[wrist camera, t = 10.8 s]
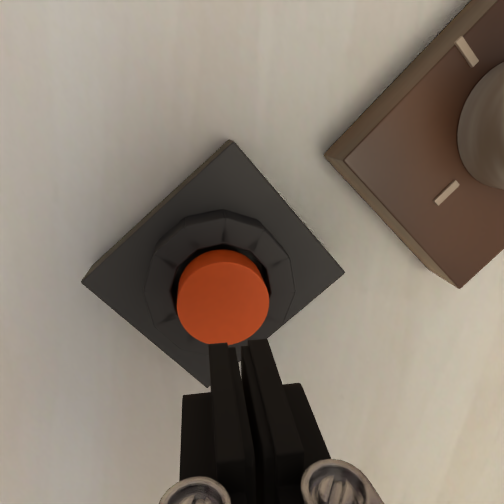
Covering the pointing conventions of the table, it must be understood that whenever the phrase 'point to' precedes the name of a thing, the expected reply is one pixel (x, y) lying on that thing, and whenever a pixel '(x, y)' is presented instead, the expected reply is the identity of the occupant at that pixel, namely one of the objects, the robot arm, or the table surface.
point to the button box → (207, 239)
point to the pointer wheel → (484, 130)
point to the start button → (222, 297)
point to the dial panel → (431, 150)
